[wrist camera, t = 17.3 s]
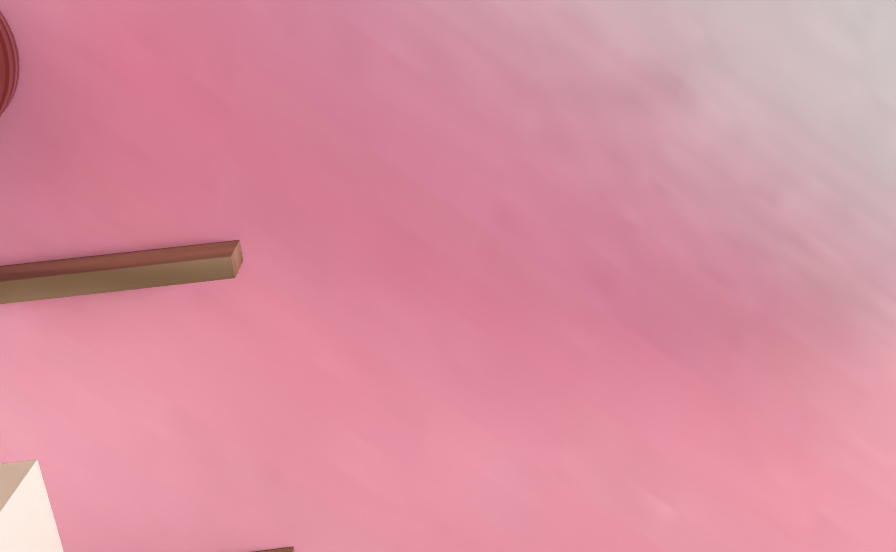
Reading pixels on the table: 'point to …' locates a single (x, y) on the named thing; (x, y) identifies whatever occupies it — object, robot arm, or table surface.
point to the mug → (7, 64)
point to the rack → (121, 275)
